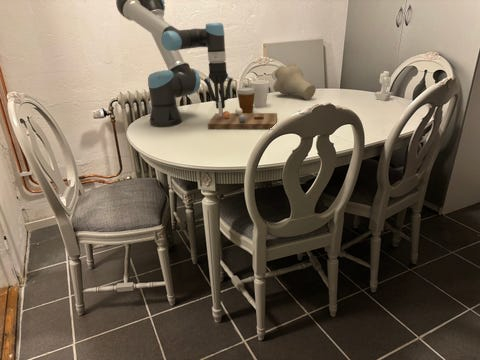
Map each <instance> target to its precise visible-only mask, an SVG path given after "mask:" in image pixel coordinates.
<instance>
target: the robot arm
mask: <svg viewBox="0 0 480 360" xmlns="http://www.w3.org/2000/svg"><path fill="white" fill-rule="evenodd" d="M165 4H166V3H165V0H115V5H116V9H117V10H118V12H119V13H120V15H121V17H123V18H124V19H126V20H128V21H133V22H135V23H136V24H137V25H139V26H140V27H142V28H143V29H144V30H146V31H147V32H149V33H150V34H151V36H152V38H153V40H154V42H155V44H156V47H157V49H158V50H159V52H160V55H161V57H162V60H163V61H164V63H165V65H166V67H167V69H165V70H159V71H154V72H152V73H150V74H149V75H148V77H147V87H148V90H149V98H150V105H151V109H150V110H151V111H150V115H149V116H150V117H149V123H150V126H152V127H157V128H158V127H162V128H163V127H172V126H176V125H179V124H181V123H182V122H183V118H182V114H181V112H180V110H179V108H178V105H177V98H181V97H185V96H191V95H193V94H196V93H197V92H198V91H199V89H200V87H201V76H200V74H199V72H198V70H196V69H194V68H191V67H190V64H189V63H188V62H186V61H184V58H183V56H182V54H181V52H180V51H181V50H187V49H196V48H207V59H208V60H207V61H208V70H209V71H208V77H206V78H204V80H203V82H204V83H205V85H206V86H207V90H208V94H209V96H210V99H211V101H214V102H215V107H216V109H217V110H218V113H219V116H223V112H224V109H225V107H226V101H228V99H229V97H230V91H231V83H232V82H233V80H234V77H231V76H229V74H228V71H227V62H226V61H227V57H226V56H227V55H226V45H225V44H226V43H225V28H224V24H223V23H222V22H211V23H206V24H205V28H191V29H177V28H176V27H175V26H173V25H171V24H170V23H168V22H167V21H165V19H164V15H165V9H166V6H165ZM211 81H212V83H213V85H214V86H213V87H214V90H213V87H212V83H211ZM225 81H226V82H227V83H226V91H225V86H224V85H225Z"/></svg>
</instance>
